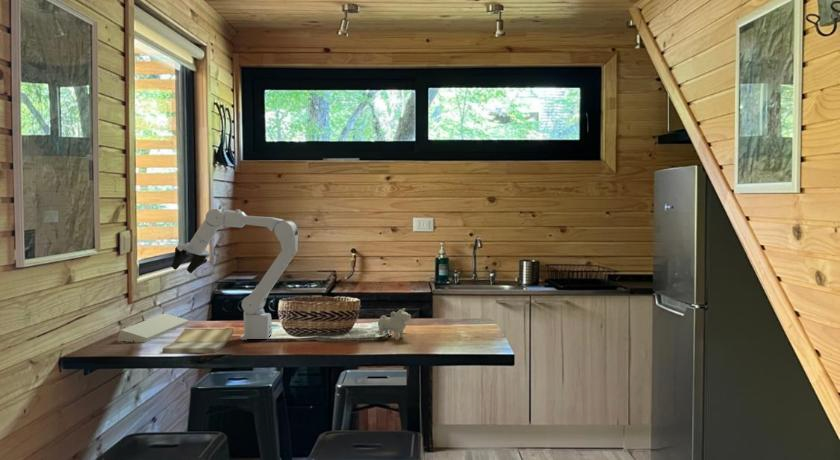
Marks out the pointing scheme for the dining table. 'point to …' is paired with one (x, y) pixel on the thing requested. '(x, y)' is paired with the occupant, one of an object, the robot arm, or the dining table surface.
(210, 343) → the laminate section
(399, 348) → the dining table surface
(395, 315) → the grey animal figure
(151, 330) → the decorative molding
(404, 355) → the dining table surface
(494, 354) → the dining table surface
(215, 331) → the oak plank
